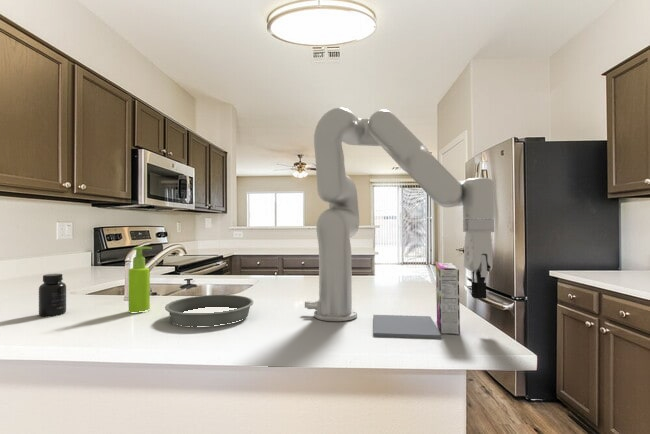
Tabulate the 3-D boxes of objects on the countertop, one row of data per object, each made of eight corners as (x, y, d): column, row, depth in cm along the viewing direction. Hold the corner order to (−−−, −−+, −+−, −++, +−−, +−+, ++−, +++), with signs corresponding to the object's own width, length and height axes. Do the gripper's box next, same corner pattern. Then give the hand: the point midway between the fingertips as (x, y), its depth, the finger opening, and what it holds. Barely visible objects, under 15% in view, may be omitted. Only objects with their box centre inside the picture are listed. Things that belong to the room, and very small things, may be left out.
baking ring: (144, 326, 103) (144, 309, 103) (198, 306, 127) (198, 292, 127) (226, 333, 97) (226, 315, 97) (267, 311, 120) (267, 296, 120)
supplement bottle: (33, 315, 114) (33, 275, 114) (56, 310, 120) (56, 272, 121) (48, 318, 112) (48, 276, 112) (71, 312, 118) (71, 273, 118)
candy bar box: (435, 322, 106) (435, 262, 106) (454, 323, 105) (454, 262, 105) (439, 334, 95) (438, 267, 95) (460, 335, 94) (460, 268, 94)
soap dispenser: (156, 309, 121) (156, 246, 121) (135, 314, 115) (135, 247, 116) (145, 307, 124) (145, 245, 125) (124, 311, 119) (124, 247, 119)
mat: (373, 336, 93) (373, 332, 93) (373, 317, 111) (373, 314, 111) (441, 338, 91) (441, 335, 91) (430, 319, 109) (430, 316, 109)
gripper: (457, 225, 107) (457, 292, 107) (470, 226, 92) (471, 303, 92) (485, 225, 106) (485, 292, 106) (503, 226, 91) (504, 304, 91)
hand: (478, 297), depth 99 cm, fingers closed
